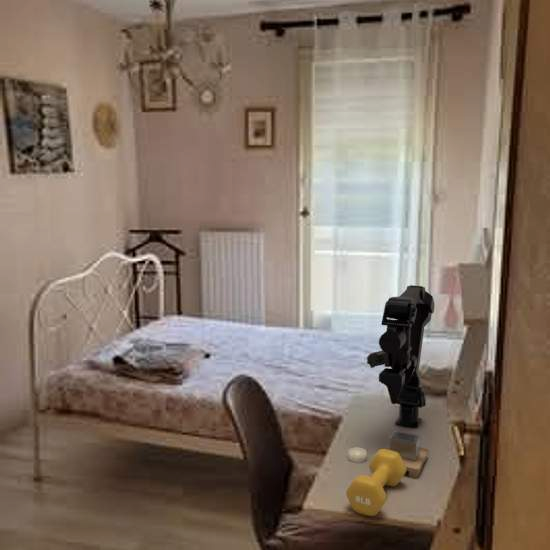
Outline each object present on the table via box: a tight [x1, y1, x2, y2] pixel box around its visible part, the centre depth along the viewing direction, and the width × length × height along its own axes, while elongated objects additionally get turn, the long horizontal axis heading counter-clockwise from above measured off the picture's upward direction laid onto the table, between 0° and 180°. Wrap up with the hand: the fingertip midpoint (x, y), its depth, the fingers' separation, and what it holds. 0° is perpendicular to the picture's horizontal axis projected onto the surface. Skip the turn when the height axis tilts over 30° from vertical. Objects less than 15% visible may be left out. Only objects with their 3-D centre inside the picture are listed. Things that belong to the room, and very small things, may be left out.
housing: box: [388, 430, 421, 462], centre depth 156 cm, size 7×5×5 cm, turn 64°
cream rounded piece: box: [347, 446, 368, 464], centre depth 160 cm, size 5×5×2 cm
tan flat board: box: [386, 446, 430, 479], centre depth 156 cm, size 12×10×2 cm
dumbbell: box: [345, 448, 407, 517], centre depth 141 cm, size 19×9×8 cm, turn 150°
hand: (397, 397), depth 167 cm, fingers open, 9 cm apart
